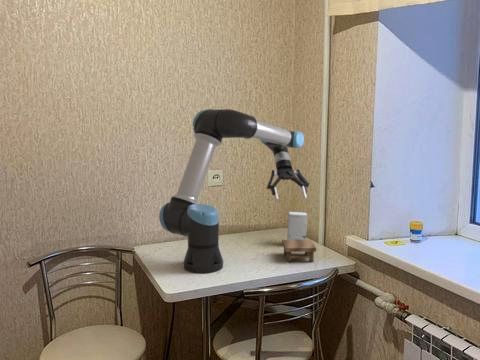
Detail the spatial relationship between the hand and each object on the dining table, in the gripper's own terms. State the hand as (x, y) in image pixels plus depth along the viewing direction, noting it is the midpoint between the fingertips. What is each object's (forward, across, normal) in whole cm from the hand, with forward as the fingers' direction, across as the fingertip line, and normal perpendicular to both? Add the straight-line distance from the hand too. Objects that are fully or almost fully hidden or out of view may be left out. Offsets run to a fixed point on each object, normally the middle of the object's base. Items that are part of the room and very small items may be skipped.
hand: (291, 199), depth 202 cm
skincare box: (+20, 0, -6) cm, 21 cm away
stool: (+32, +5, +7) cm, 33 cm away
